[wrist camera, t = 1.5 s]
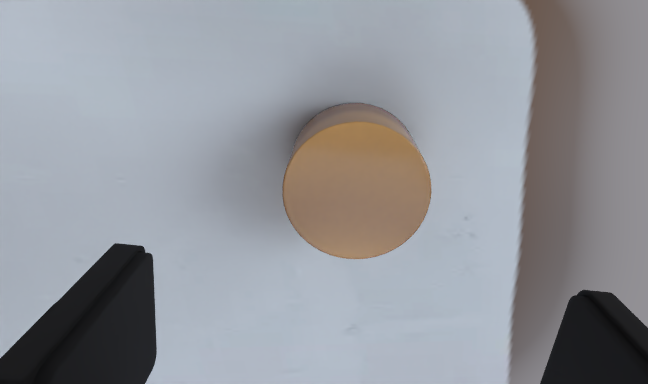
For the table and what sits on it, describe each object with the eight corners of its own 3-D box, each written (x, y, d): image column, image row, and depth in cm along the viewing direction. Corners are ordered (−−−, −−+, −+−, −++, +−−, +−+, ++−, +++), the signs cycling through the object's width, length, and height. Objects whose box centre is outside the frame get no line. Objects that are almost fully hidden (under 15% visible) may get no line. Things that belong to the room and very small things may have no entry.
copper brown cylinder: (295, 95, 18) (287, 113, 15) (427, 110, 18) (444, 130, 15) (287, 215, 20) (277, 251, 17) (405, 227, 20) (417, 266, 17)
